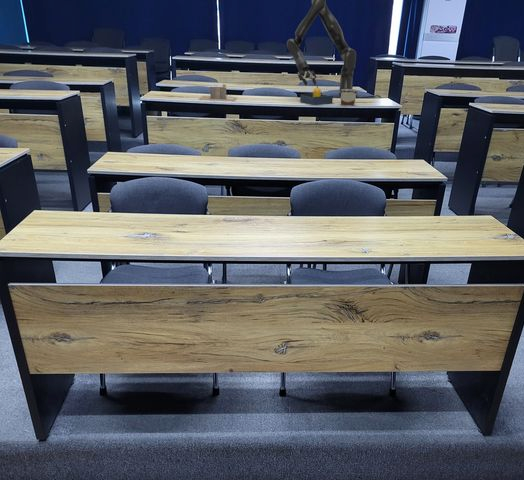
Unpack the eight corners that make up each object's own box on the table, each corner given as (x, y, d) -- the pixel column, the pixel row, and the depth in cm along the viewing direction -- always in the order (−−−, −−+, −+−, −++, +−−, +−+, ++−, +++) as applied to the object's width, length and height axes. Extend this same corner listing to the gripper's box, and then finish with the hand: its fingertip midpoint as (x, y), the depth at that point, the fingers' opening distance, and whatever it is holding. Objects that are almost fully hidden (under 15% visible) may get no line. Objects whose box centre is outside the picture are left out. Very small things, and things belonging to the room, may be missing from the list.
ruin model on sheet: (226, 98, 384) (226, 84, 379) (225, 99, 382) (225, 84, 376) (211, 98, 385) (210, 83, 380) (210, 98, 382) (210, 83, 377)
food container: (355, 104, 377) (357, 89, 371) (356, 105, 372) (357, 90, 366) (338, 103, 378) (340, 88, 372) (338, 105, 372) (340, 89, 367)
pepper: (316, 101, 383) (317, 85, 377) (321, 102, 379) (322, 86, 373) (310, 102, 380) (311, 86, 374) (315, 103, 376) (317, 87, 370)
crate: (318, 100, 389) (318, 92, 386) (332, 103, 379) (333, 95, 376) (299, 101, 380) (300, 94, 377) (314, 105, 370) (314, 97, 367)
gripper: (297, 61, 373) (306, 81, 371) (312, 60, 380) (321, 80, 378) (292, 69, 379) (300, 88, 378) (306, 68, 386) (315, 87, 385)
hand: (310, 84), depth 378 cm, fingers open, 8 cm apart
